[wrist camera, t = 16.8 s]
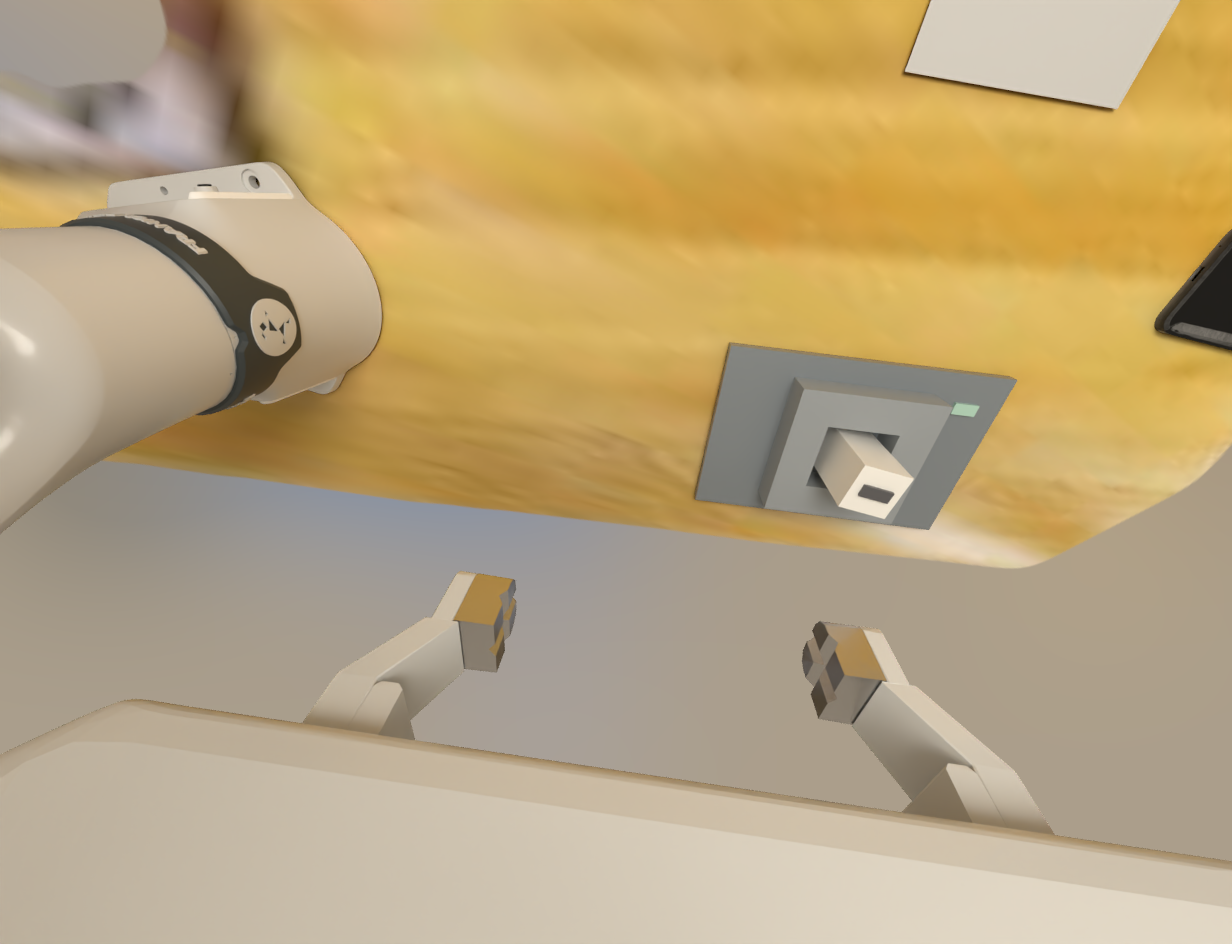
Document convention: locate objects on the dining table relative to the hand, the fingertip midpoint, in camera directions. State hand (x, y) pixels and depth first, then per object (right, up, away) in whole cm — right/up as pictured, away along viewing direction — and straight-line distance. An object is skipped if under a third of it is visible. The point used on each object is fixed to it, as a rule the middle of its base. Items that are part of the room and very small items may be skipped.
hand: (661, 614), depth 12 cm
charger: (+20, +6, +29) cm, 36 cm away
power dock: (+20, +7, +30) cm, 37 cm away
